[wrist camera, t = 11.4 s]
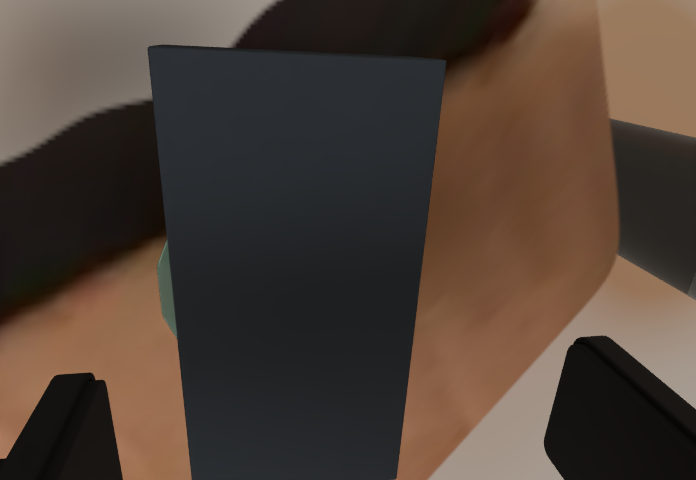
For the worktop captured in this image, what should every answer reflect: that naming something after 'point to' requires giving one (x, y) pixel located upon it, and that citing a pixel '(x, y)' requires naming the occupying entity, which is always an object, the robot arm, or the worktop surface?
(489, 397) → the worktop surface
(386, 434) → the dark blue flat block
